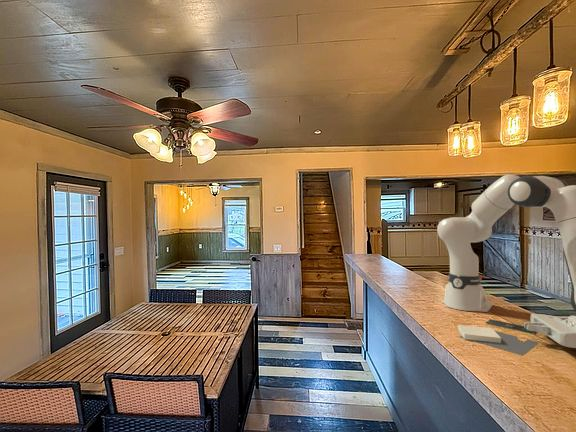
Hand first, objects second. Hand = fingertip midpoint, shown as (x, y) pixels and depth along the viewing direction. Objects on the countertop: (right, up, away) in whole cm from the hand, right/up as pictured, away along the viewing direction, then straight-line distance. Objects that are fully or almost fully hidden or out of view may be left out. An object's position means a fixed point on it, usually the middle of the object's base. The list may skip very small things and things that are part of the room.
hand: (525, 326), depth 99 cm
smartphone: (+5, -6, +14) cm, 16 cm away
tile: (-8, -4, +2) cm, 9 cm away
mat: (-7, -5, +2) cm, 9 cm away
